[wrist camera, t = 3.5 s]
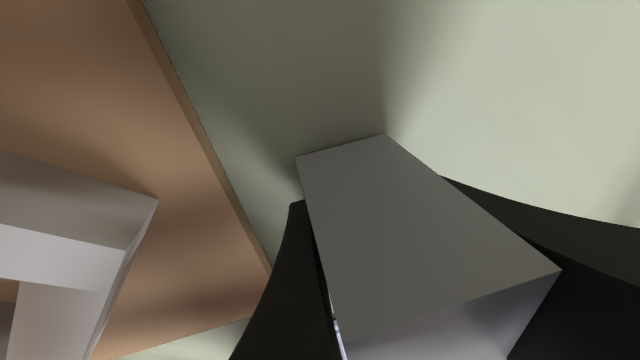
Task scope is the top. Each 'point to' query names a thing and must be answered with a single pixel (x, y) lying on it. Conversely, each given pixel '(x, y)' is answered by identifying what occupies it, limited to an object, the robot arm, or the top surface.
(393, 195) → the grey rectangular block
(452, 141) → the top surface
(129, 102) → the duct base
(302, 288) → the robot arm
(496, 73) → the top surface
